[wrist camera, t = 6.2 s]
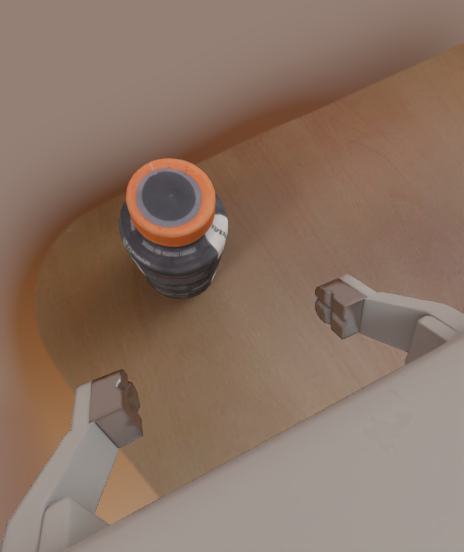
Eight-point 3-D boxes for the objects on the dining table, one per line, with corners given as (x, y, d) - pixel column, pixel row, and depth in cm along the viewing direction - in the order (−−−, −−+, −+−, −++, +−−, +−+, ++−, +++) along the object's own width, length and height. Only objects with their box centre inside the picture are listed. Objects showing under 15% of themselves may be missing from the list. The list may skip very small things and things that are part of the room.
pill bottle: (229, 256, 23) (261, 182, 13) (191, 313, 22) (191, 286, 11) (171, 219, 23) (154, 115, 13) (130, 274, 22) (69, 208, 11)
